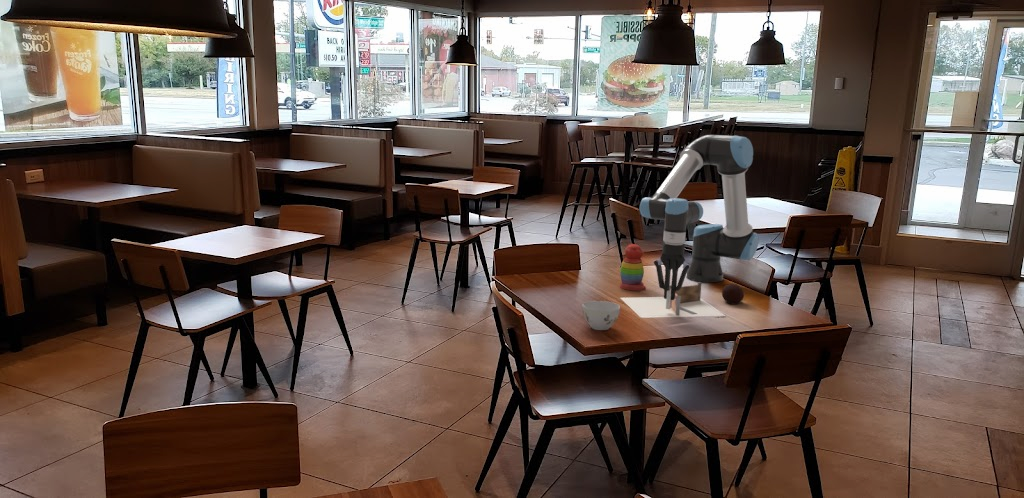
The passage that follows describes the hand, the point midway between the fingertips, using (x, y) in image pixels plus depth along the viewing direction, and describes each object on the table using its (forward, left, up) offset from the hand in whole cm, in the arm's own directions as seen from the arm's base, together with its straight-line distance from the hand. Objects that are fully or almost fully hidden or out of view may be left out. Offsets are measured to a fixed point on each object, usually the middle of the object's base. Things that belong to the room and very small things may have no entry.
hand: (668, 308), depth 270 cm
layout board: (-4, -8, -2) cm, 9 cm away
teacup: (+29, +12, -3) cm, 31 cm away
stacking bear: (+2, -38, -3) cm, 38 cm away
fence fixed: (-11, -13, -2) cm, 17 cm away
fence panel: (-3, -3, -2) cm, 5 cm away
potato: (-29, -12, -3) cm, 32 cm away
